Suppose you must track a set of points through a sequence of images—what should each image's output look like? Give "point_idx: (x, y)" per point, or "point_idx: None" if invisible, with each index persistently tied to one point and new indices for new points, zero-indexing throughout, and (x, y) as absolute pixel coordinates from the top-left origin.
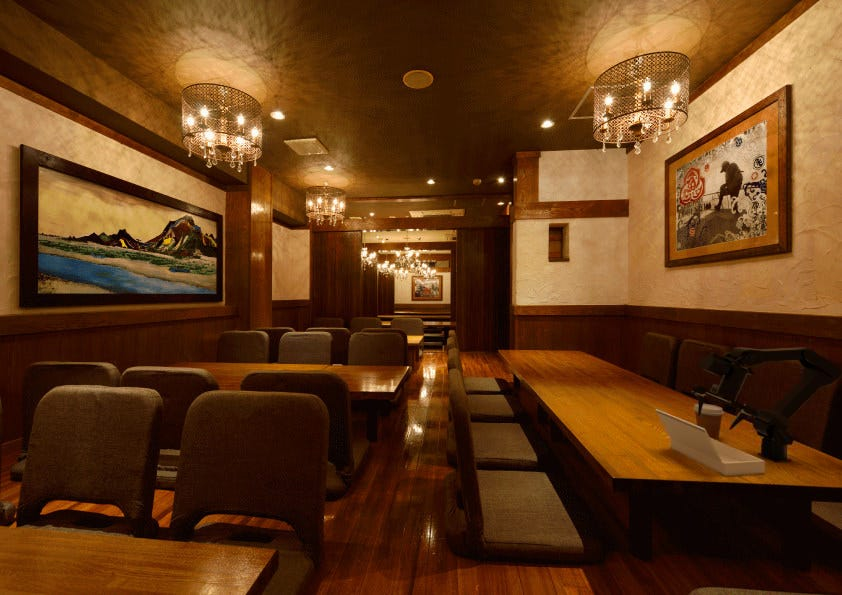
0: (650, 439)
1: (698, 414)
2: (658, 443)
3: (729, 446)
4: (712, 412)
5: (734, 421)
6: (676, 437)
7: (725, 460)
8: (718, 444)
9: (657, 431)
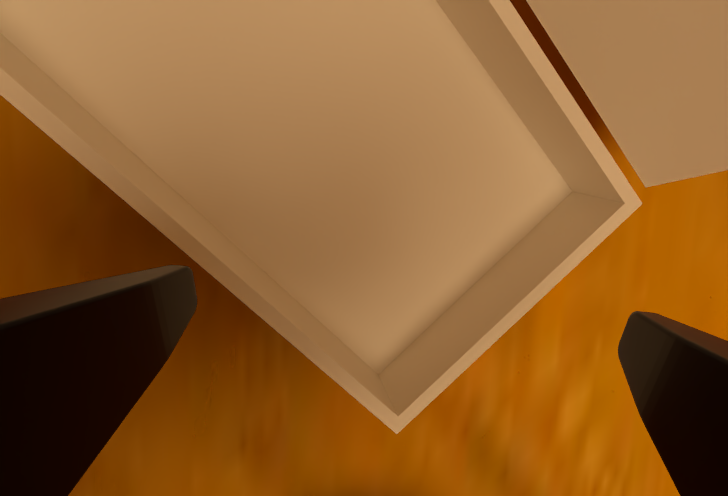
0: (674, 284)
1: (666, 319)
2: (638, 236)
3: (217, 262)
4: None
5: (61, 305)
6: (652, 79)
7: (249, 117)
8: (301, 324)
9: (619, 466)
